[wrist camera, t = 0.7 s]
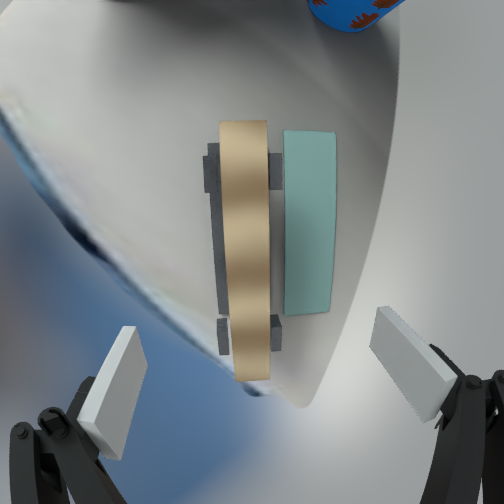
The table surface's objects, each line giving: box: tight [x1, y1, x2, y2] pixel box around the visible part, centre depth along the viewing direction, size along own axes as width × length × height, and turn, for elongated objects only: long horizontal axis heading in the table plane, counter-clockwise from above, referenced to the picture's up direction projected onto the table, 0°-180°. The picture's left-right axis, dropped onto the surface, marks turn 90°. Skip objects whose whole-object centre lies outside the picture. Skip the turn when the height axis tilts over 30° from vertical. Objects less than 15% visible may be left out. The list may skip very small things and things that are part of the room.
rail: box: [219, 120, 270, 382], centre depth 24 cm, size 24×4×4 cm, turn 2°
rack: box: [203, 143, 283, 355], centre depth 30 cm, size 23×7×13 cm, turn 2°
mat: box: [283, 130, 336, 316], centre depth 37 cm, size 26×7×1 cm, turn 2°
